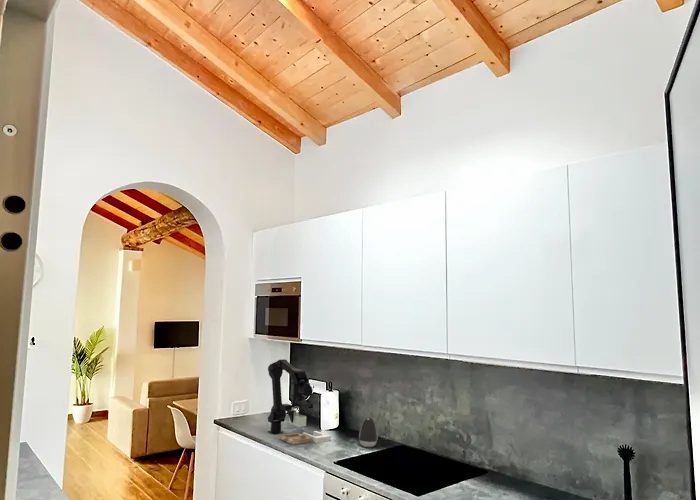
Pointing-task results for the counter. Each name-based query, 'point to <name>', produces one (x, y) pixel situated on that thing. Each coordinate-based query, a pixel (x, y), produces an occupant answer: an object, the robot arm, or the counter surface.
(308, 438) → the tray
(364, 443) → the egg shaped speaker
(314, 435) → the housing
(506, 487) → the counter surface
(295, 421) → the caddy
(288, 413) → the robot arm
